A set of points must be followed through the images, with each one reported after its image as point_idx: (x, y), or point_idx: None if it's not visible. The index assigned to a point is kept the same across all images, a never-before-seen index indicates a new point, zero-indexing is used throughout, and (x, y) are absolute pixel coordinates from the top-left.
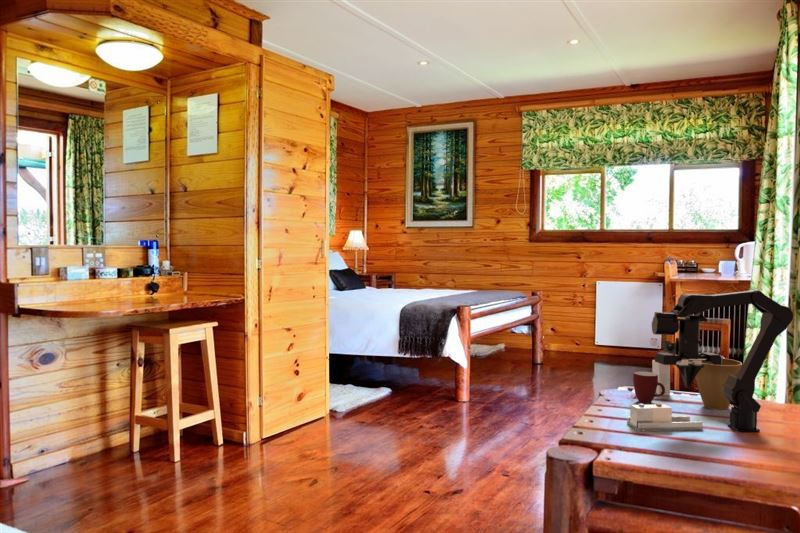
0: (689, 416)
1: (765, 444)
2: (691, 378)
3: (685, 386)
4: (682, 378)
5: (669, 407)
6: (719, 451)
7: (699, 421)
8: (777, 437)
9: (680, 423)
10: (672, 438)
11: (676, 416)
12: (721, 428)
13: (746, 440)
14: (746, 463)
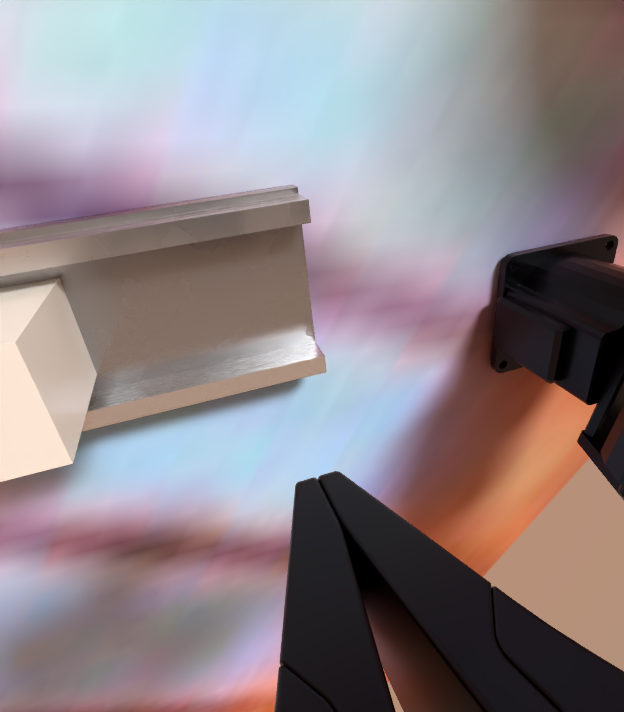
0: (305, 222)
1: (464, 513)
2: (401, 700)
3: (297, 491)
4: (286, 600)
5: (48, 461)
6: (227, 640)
7: (314, 357)
8: (583, 412)
9: (157, 410)
10: (53, 549)
11: (187, 235)
12: (439, 306)
13: (426, 483)
14: (264, 706)
